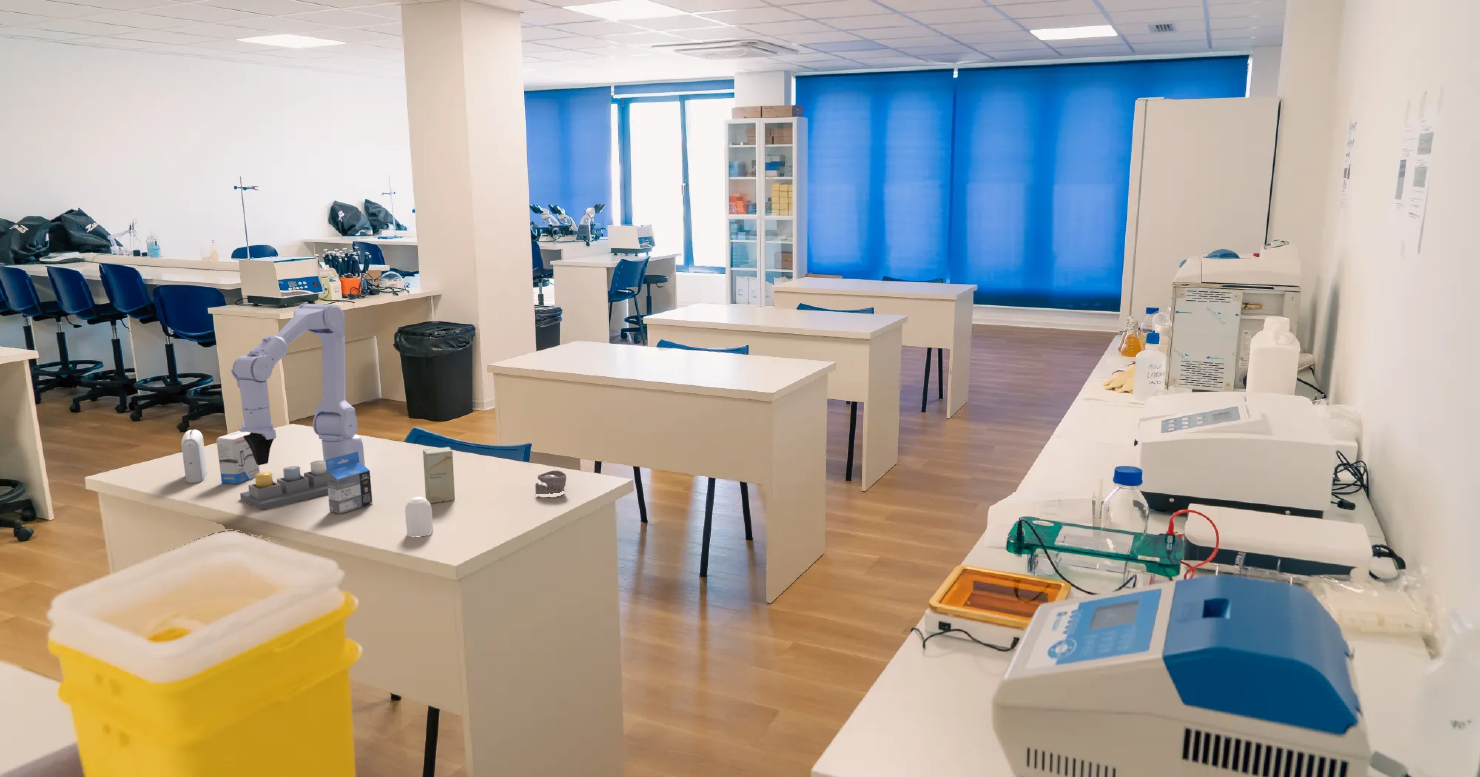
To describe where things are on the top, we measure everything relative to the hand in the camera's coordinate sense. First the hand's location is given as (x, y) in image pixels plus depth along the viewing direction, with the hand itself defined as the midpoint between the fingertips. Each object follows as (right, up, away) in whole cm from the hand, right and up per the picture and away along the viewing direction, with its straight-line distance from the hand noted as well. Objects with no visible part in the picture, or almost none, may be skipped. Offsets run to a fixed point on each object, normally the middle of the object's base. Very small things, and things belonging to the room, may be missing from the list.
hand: (262, 463), depth 223 cm
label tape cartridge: (+22, -10, -3) cm, 25 cm away
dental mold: (+67, -8, +6) cm, 68 cm away
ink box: (-15, -6, +19) cm, 25 cm away
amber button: (0, -5, +1) cm, 5 cm away
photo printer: (-27, -5, +21) cm, 35 cm away
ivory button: (+9, -3, +10) cm, 14 cm away
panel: (+4, -8, +7) cm, 11 cm away
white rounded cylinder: (+44, -13, -20) cm, 50 cm away
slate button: (+4, -4, +6) cm, 8 cm away
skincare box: (+41, -9, +3) cm, 42 cm away
